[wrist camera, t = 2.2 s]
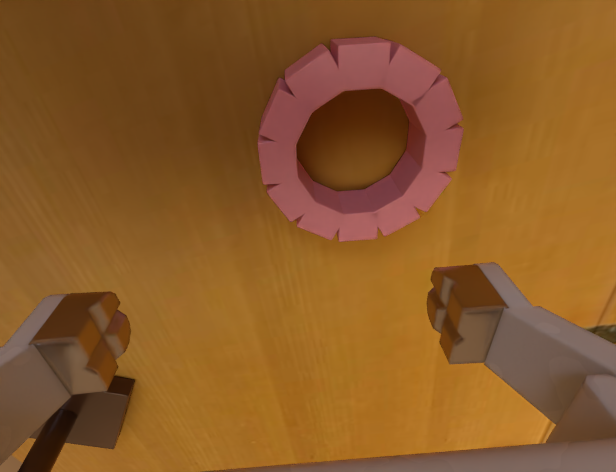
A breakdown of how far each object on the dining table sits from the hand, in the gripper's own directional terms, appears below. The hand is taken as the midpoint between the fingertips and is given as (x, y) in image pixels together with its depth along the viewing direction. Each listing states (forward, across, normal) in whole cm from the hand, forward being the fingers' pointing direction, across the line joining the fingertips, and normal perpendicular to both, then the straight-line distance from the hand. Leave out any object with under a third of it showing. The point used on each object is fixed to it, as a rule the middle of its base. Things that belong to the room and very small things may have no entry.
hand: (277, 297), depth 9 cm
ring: (+12, -4, 0) cm, 13 cm away
